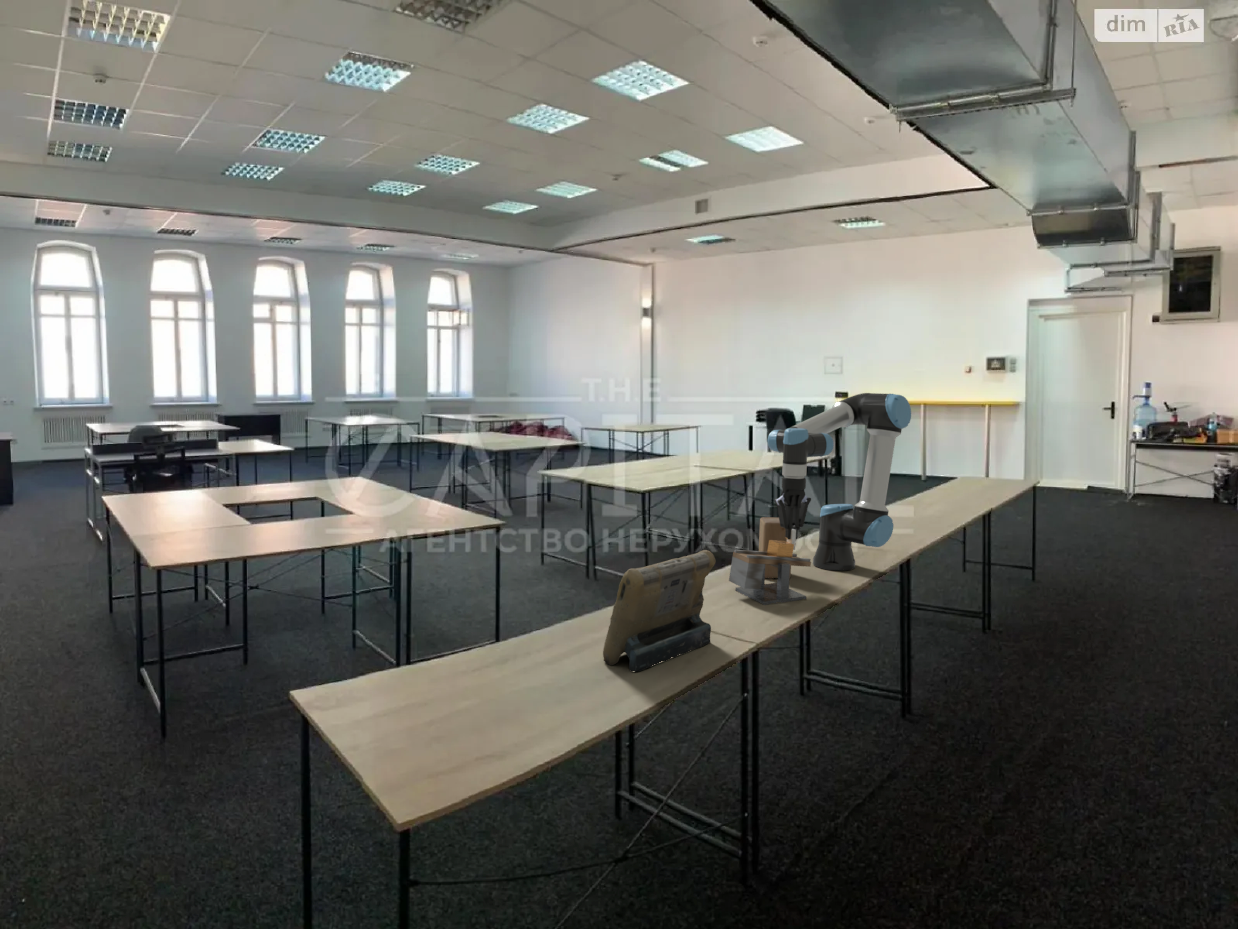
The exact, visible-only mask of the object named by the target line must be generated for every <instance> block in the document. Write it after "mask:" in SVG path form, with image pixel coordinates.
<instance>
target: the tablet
mask: <svg viewBox="0 0 1238 929" xmlns="http://www.w3.org/2000/svg"><path fill="white" fill-rule="evenodd" d="M715 565H716V558H715V555H714V554H713V553H712V552H711V551H710V550H707V549H703V550H700V551H698V552H696V553H692V554H688V555H687V556H686V555H684V556H681V557H679V558H677V557H676V558H672V559H669V560H665V561H661V562H658V563H653V564H650V565H647V566H642V567H636V568H633V567H632V568H629V569H627V571H625V572H624V573H623V576H622V577H621V580H620V582H619V585H618V590H617V593H616V600H615V603H614V605H613V608H612V613H611V616H610V622H609V626H608V629H607V634H606V636H605V637H606V638H605V640H604V645H603V650H602V658H603V662H605V663H606V664H607V665H608V664H610V665H609V666H613V665H616V664H617V663H618V662H619V660H620V657H621V656H622V655H623V654H624V653H625V654H626V656H627V657H628V660H629V663H628V669H629V671H630V672H631V671H639V672H641V671H644V670H647V669H648V667H650V668H651V666H652V665H654V664H657V663H659V662H661V661H665V662H667V661H666V660H668V659H670V658H671V657H675V658H677V657H678V656H677V655H679V654H682V655H684V653H685V654H687V653H689V652H688V651H690V650H692V651H694V650H696V649H700V648H701V647H704V646H707V645H708V644H711V634H712V633H711V632H712V627H711V624H710V623H708V622H705V621H703V620H702V618H701V616H700V615H701V612H702V610H703V607H704V601H705V599H704V595H703V590H704V589H703V588H704V586H705V581H706V578H707V577H708V576H709V574H710V572H711V571H712V569H713V567H714V566H715ZM686 652H687V653H686ZM690 652H691V651H690ZM676 656H677V657H676ZM670 660H671V659H670ZM668 661H669V660H668ZM657 665H658V664H657ZM652 667H653V666H652Z"/></svg>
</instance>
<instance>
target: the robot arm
mask: <svg viewBox="0 0 1238 929" xmlns="http://www.w3.org/2000/svg"><path fill="white" fill-rule="evenodd" d="M911 419H912V409H911V404H910V403H909V400H908V399H907V398H906V397H905V396H904V395H901V394H896V393H895V394H894V393H877V392H876V393H874V392H873V393H870V392H864V393H863V392H862V393H859V394H855V395H852V396H849V397H847V398H844V399H842V400H840V401H837V402H836V403H834V404H833V405H832V407H831V408H829V409H827V410H825V411H823V412H821V413H819V414H816V415H814V416H812V417H810V418H808V419H806V420H803V421H801V422H799V423H797V424H795V425H792V426H790V427H788V428H786V429H773V430H771V432H769V434H768V435H767V447H768V448H769V449H770V450H771V451H773V452H775V453H776V452H778V453H779V454H781V453H782V458H783V459H782V472H781V474H782V478H781V490H782V491H781V494H780V496H779V497H778V498H774V503H775V504H776V508H777V514H778V518H779V521H780V526H781V527H783V528H785V530H786V531H785V538H786V539H787V542H789V543H791V544H794V548H793V551H795V550H796V540H797V539H798V532H799V531H800V529H801V528H803V527H804V525H805V521H806V516H807V512H808V509H809V508H808V507H809V506H810V503H811V501H812V498H811V497H808V496H807V495H806V492H805V490H806V485H807V479H806V477H807V468H808V467H807V466H808V464H807V463H808V458H816V457H817V458H818V457H820V458H821V457H824V456H828V455H830V454H831V453H832V452H833V450H834V444H835V443H834V439H833V438H832V437H833V436H831V435H830V433H831V432H833V431H836V430H838V429H839V428H848V427H850V426H855V425H858V426H859V425H860V426H866V431H867V432H868V433H869V442H868V446H867V448H868V449H867V453H866V461H865V466H864V471H863V479H862V486H861V492H860V498H859V501H858V502H857V503H855V504H850V503H833V504H830V503H829V504H825V505H822V507H821V508H820V511H819V512H820V515H819V527H818V528H819V531H818V546H817V547H816V549H815V550H816V551H815V554H814V556H813V558H812V565H813V566H815V567H816V568H820V569H822V570H829V571H840V572H841V571H842V572H844V571H852V570H854V569H855V568H856V559H855V556H854V551H853V549H852V548H853V547H852V543H854V544H858V545H863V546H866V547H873V548H880V547H883V546H884V545H886V544H887V542H889V541H890V539H891V537H892V534H893V532H894V520H893V519H892V517H890V516H889V509H888V508H887V506H886V502H887V494H888V488H889V483H890V482H889V481H890V476H891V470H892V464H893V457H894V452H895V444H896V439H897V438H898V437H899V436H900V435H902V430H903V429H906V428H907V427H908V426H909V424H910V422H911ZM851 569H852V570H851Z"/></svg>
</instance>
